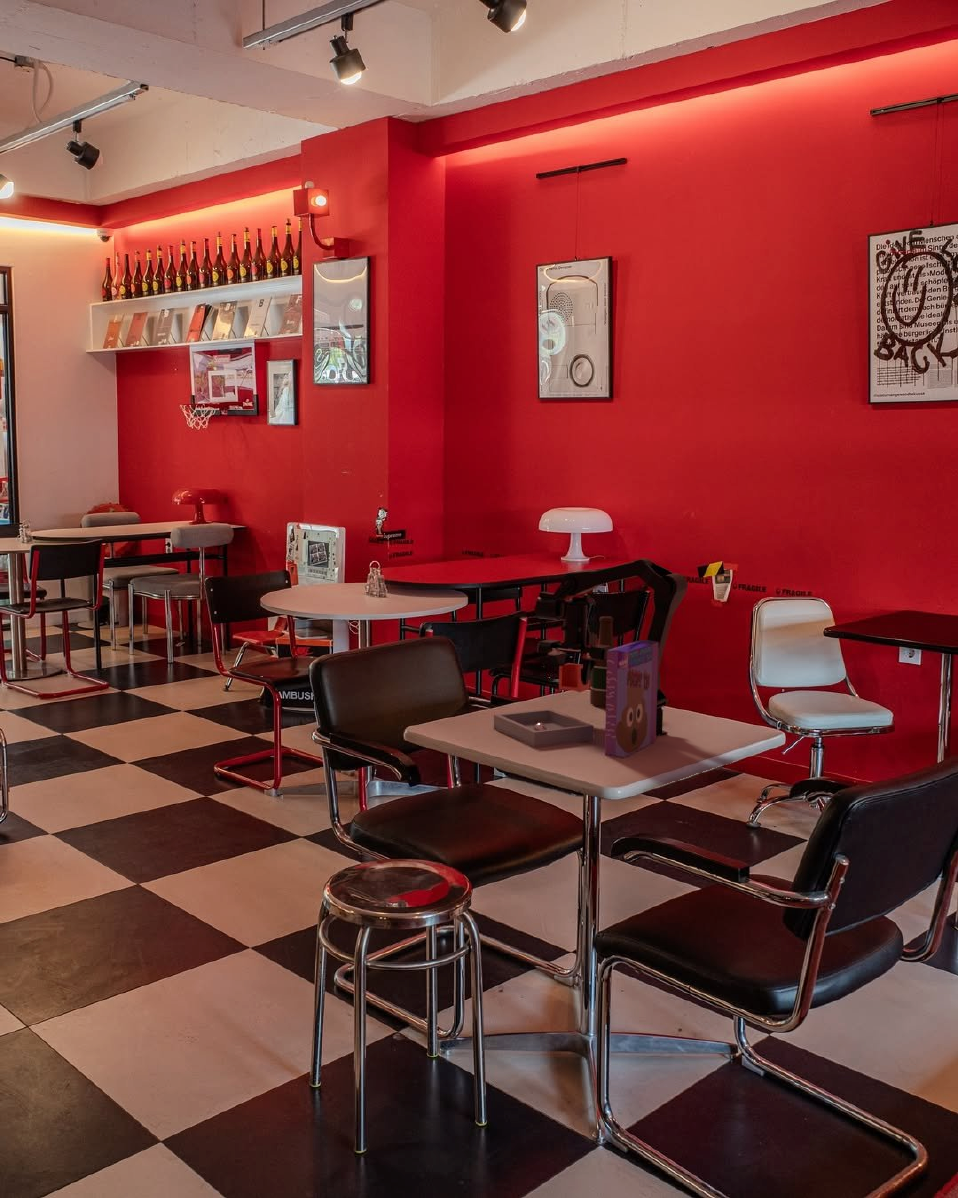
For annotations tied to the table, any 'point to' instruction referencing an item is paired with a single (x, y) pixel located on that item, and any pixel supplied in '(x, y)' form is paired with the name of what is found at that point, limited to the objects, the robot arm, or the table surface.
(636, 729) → the cereal box
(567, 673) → the red arch stool
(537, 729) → the steel ball
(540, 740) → the slate tray
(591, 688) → the beer bottle
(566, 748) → the table surface
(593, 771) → the table surface
